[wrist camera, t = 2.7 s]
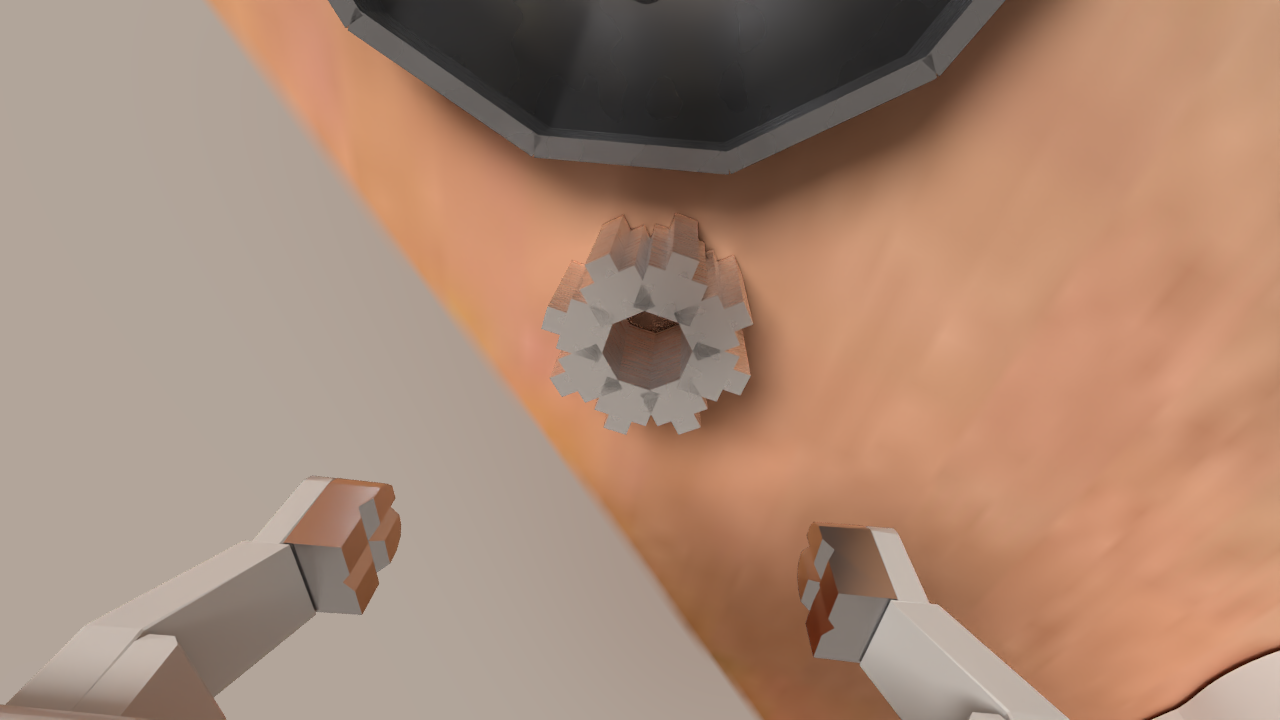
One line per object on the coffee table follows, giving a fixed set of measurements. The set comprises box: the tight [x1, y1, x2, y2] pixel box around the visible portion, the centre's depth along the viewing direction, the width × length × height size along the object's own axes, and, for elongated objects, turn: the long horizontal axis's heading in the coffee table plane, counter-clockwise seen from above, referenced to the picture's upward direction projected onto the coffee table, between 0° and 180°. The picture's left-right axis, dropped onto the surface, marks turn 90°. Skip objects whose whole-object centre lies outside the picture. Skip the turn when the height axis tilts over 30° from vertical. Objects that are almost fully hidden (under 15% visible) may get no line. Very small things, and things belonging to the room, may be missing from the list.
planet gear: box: [541, 213, 753, 435], centre depth 19 cm, size 7×7×4 cm
